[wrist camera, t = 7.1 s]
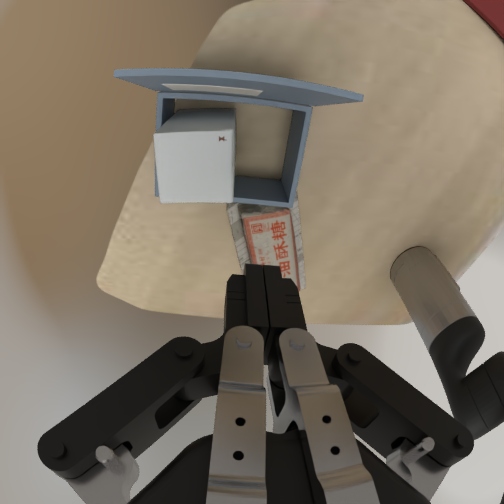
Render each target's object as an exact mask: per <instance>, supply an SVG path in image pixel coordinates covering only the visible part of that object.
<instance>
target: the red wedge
mask: <svg viewBox="0 0 504 504" xmlns="http://www.w3.org/2000/svg"><path fill="white" fill-rule="evenodd" d="M464 1H465V2H466V3H467V4H468V5H469V6H470V7H472V8H473V9H474V10H475V11H476V12H477V13H478V14H479V15H480V16H481V17H482V18H483V19H484V20H485V21H486V22H487V23H488V24H489V25H490V26H491V27H492V28H493V29H494V30H495V31H496V32H497V33H498V34H499V35H500V36H501V37H502V38H503V39H504V0H464Z"/></svg>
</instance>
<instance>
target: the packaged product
mask: <svg viewBox="0 0 504 504" xmlns="http://www.w3.org/2000/svg"><path fill="white" fill-rule="evenodd" d="M227 213H228V217H229V221H230V225H231V229H232V233H233V238H234V242H235V246H236V250H237V255H238V259H239V263H240V267H241V271H242V275H243V271H244V265H245V263H247V264H260V265H274V266H280V268H281V274H282V278H291V279H292V281H293V282H294V283H295V284H296V286H297V287H298V292H299V291H300V289H306V287H305V272H304V259H303V247H302V239H301V225H300V217H299V207H298V197H297V191H296V195H295V199H294V204H293V208H288V207H279V206H269V205H259V204H249V203H238V202H232V203H228V204H227Z"/></svg>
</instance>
